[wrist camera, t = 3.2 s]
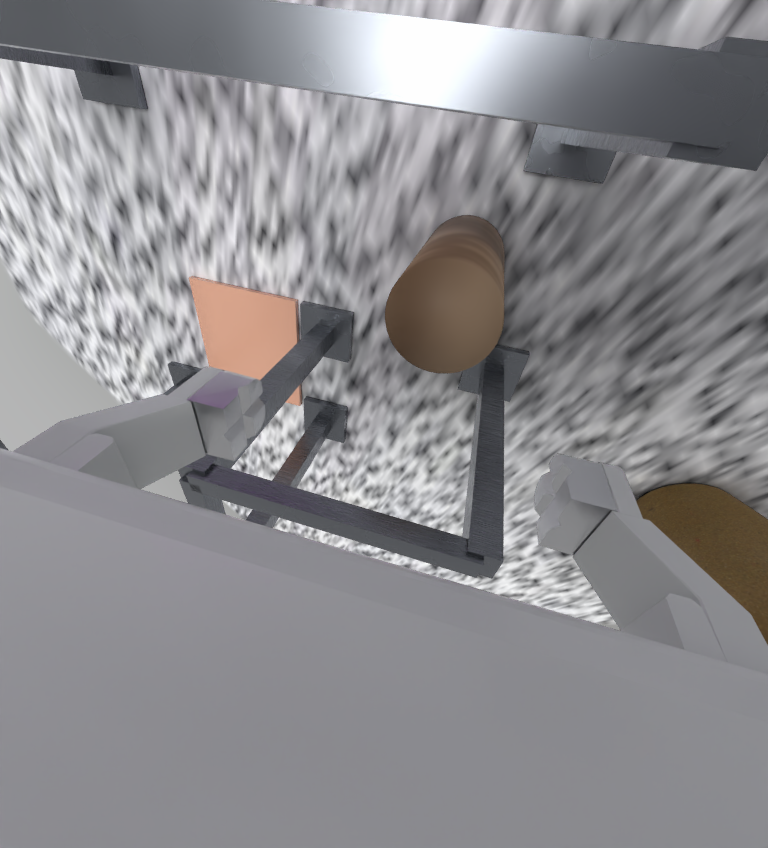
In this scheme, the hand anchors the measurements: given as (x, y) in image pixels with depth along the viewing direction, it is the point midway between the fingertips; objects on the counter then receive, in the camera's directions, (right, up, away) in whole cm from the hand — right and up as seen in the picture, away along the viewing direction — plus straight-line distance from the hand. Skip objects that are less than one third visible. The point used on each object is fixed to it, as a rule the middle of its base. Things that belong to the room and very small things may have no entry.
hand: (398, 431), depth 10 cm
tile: (-12, +7, +21) cm, 25 cm away
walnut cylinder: (+5, +11, +13) cm, 17 cm away
